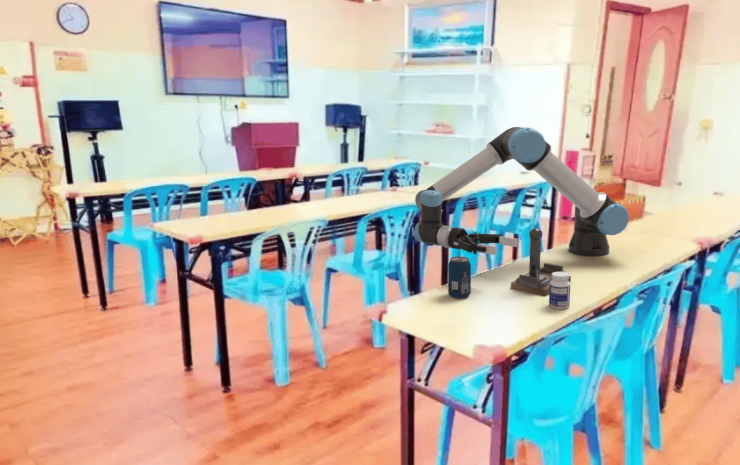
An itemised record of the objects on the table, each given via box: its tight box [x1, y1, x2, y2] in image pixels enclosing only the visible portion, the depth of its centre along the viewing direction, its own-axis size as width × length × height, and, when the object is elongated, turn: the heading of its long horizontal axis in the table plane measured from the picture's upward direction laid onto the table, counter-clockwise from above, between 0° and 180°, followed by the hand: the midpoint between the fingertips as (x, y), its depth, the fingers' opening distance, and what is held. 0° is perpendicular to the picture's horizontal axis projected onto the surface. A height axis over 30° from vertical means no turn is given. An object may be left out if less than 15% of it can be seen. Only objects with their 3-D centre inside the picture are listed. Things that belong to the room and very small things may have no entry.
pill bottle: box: [548, 272, 571, 310], centre depth 162 cm, size 6×6×10 cm
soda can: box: [447, 256, 472, 300], centre depth 173 cm, size 7×7×12 cm
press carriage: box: [526, 227, 546, 283], centre depth 176 cm, size 5×6×18 cm
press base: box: [510, 262, 572, 297], centre depth 182 cm, size 18×13×5 cm
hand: (506, 246), depth 182 cm, fingers open, 13 cm apart
